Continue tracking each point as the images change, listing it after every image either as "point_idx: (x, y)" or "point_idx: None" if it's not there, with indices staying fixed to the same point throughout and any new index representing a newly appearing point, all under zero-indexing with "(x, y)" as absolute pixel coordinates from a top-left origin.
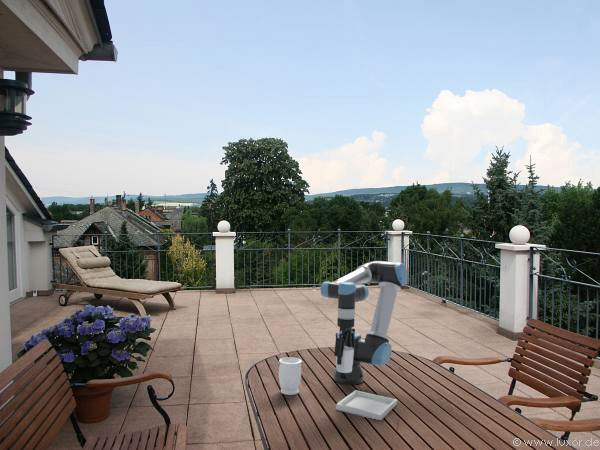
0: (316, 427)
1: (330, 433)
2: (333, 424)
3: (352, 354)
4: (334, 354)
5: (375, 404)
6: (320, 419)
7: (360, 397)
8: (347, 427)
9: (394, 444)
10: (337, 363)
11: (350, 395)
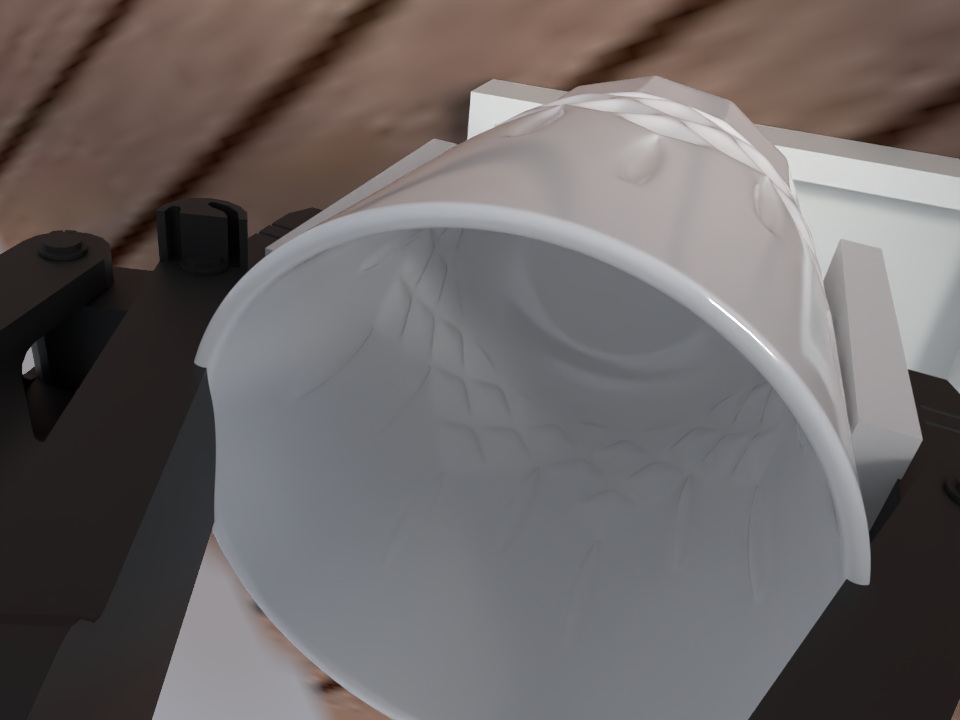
0: (82, 38)
1: (80, 179)
2: (207, 155)
3: (487, 630)
4: (25, 249)
5: None
6: (217, 8)
7: (947, 266)
8: None
9: (210, 550)
10: (294, 222)
11: (820, 180)
